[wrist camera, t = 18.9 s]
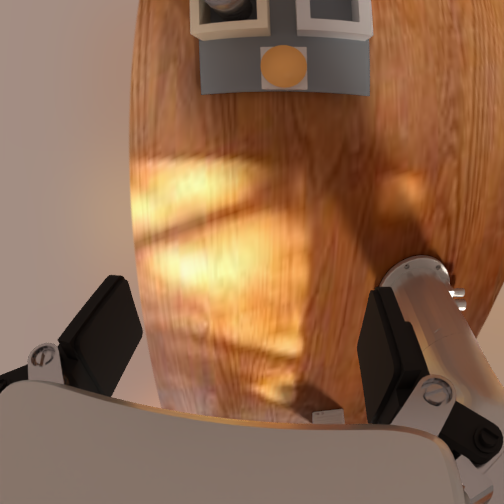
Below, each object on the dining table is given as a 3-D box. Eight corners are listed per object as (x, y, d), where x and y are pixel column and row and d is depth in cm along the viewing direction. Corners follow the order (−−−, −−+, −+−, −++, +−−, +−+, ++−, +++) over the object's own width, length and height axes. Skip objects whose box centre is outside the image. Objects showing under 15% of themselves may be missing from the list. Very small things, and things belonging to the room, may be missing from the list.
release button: (303, 53, 29) (306, 45, 24) (304, 89, 31) (307, 87, 26) (264, 53, 30) (259, 45, 25) (265, 88, 32) (261, 87, 27)
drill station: (361, -18, 25) (373, -35, 19) (366, 95, 33) (381, 96, 27) (200, -17, 27) (185, -33, 22) (204, 94, 35) (188, 95, 29)
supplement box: (344, 422, 65) (347, 466, 54) (314, 425, 67) (314, 470, 56) (344, 407, 62) (347, 455, 51) (311, 411, 63) (311, 459, 52)
